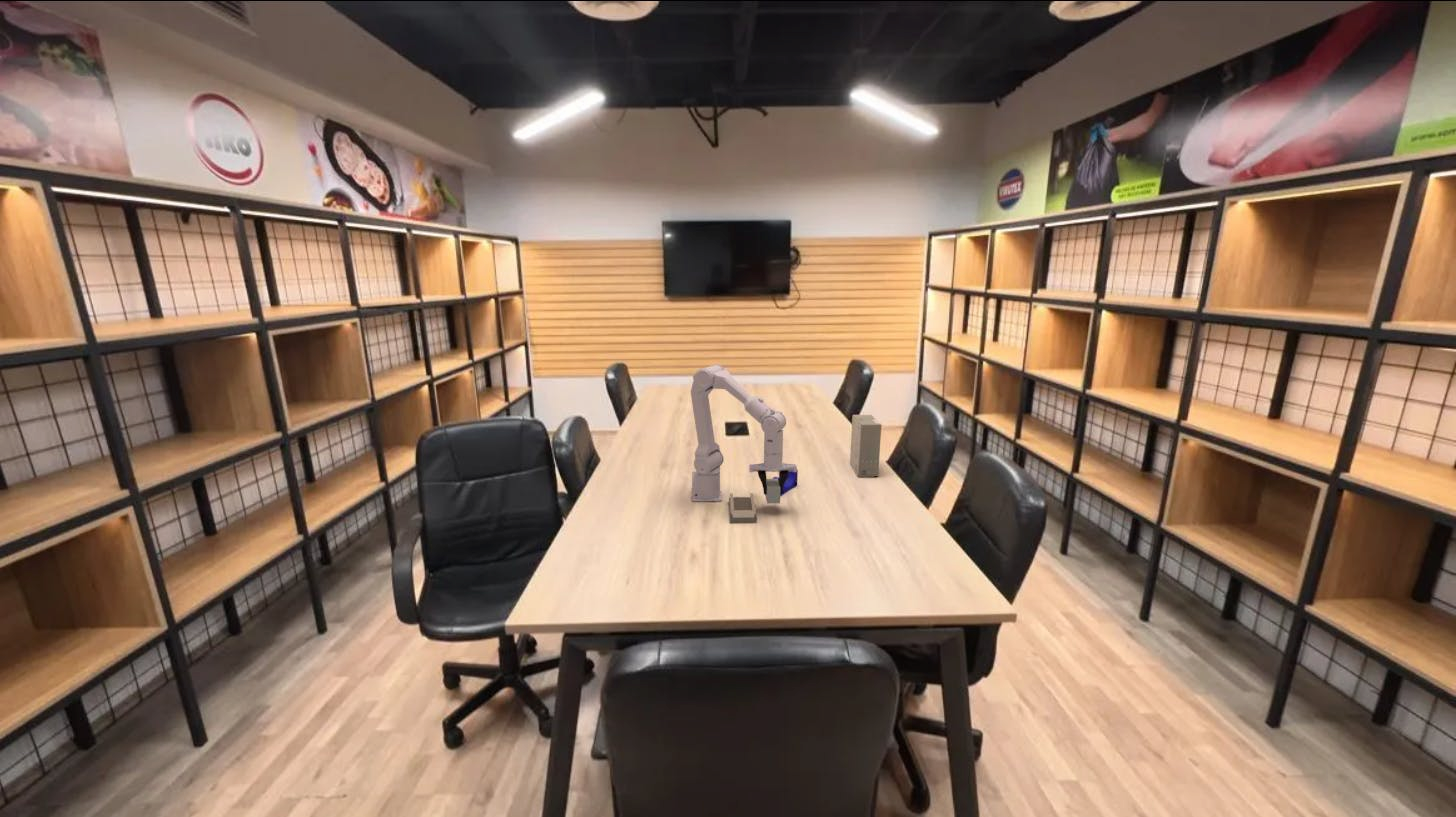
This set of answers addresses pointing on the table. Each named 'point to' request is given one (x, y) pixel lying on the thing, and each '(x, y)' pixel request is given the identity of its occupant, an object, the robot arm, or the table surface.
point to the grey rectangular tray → (742, 509)
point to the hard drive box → (865, 445)
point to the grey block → (772, 491)
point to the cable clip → (789, 481)
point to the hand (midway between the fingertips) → (772, 493)
